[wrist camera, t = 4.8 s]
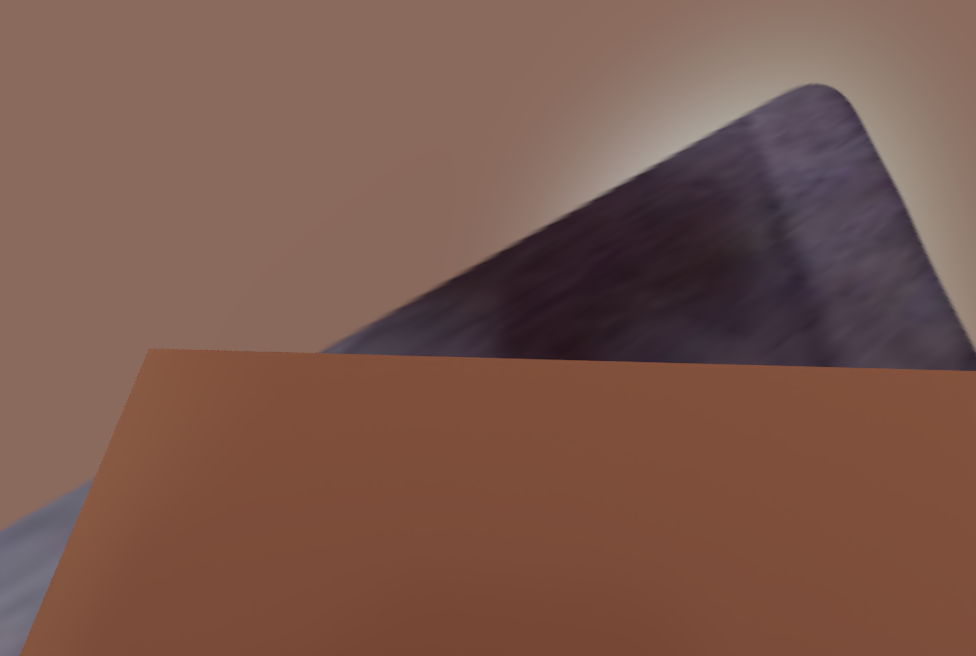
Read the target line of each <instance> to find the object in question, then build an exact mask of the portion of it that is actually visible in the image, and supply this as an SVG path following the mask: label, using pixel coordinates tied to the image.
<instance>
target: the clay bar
mask: <svg viewBox="0 0 976 656" xmlns="http://www.w3.org/2000/svg"><path fill="white" fill-rule="evenodd" d="M20 656H976V371H946V370H910V369H873V368H837V367H800V366H763V365H727V364H690V363H654V362H617V361H580V360H544V359H507V358H471V357H434V356H398V355H361V354H324V353H288V352H251V351H250V352H249V351H213V350H178V349H176V350H175V349H149V350H148V353H147V355H146V358H145V360H144V362H143V365H142V367H141V369H140V372H139V374H138V377H137V379H136V381H135V384H134V386H133V388H132V391H131V393H130V395H129V398H128V400H127V403H126V405H125V407H124V410H123V412H122V415H121V417H120V419H119V422H118V424H117V426H116V429H115V431H114V433H113V436H112V438H111V441H110V443H109V445H108V448H107V450H106V452H105V455H104V457H103V460H102V462H101V464H100V467H99V469H98V471H97V474H96V476H95V478H94V481H93V483H92V486H91V488H90V490H89V493H88V495H87V497H86V500H85V502H84V504H83V507H82V509H81V512H80V514H79V516H78V519H77V521H76V523H75V526H74V528H73V531H72V533H71V535H70V538H69V540H68V542H67V545H66V547H65V550H64V552H63V554H62V557H61V559H60V561H59V564H58V566H57V569H56V571H55V573H54V576H53V578H52V580H51V583H50V585H49V587H48V590H47V592H46V595H45V597H44V599H43V602H42V604H41V606H40V609H39V611H38V614H37V616H36V618H35V621H34V623H33V625H32V628H31V630H30V633H29V635H28V637H27V640H26V642H25V644H24V647H23V649H22V651H21V654H20Z"/></svg>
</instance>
